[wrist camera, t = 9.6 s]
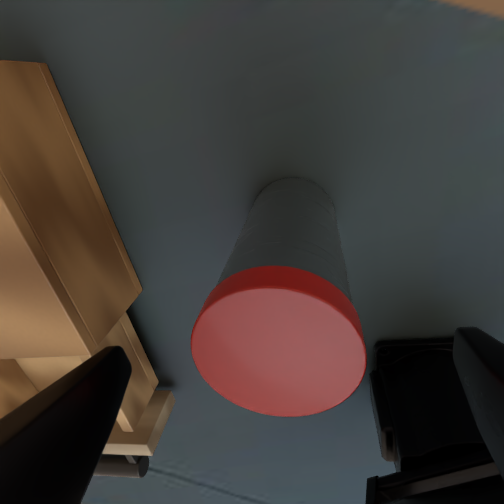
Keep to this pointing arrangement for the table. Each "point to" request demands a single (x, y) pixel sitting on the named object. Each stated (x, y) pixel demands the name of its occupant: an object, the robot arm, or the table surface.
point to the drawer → (131, 411)
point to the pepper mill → (283, 310)
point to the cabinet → (53, 228)
